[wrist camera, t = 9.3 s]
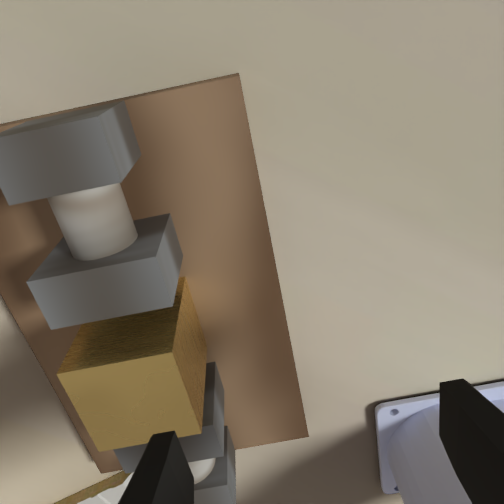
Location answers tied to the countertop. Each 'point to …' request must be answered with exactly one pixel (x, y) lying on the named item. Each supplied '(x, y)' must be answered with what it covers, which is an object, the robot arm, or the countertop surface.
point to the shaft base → (213, 262)
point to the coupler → (139, 374)
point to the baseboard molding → (101, 491)
